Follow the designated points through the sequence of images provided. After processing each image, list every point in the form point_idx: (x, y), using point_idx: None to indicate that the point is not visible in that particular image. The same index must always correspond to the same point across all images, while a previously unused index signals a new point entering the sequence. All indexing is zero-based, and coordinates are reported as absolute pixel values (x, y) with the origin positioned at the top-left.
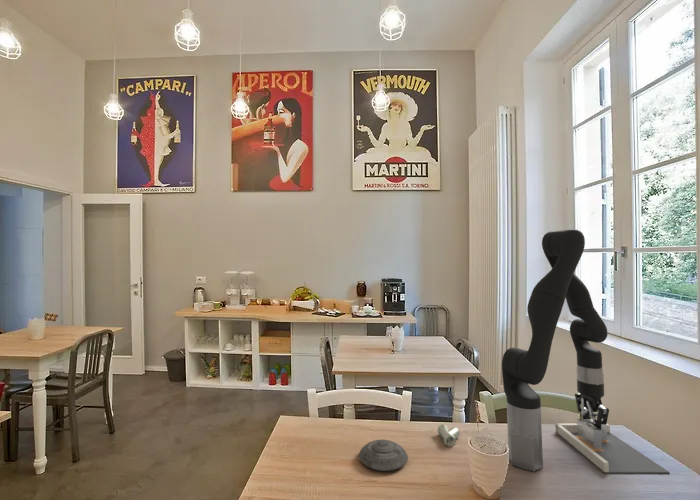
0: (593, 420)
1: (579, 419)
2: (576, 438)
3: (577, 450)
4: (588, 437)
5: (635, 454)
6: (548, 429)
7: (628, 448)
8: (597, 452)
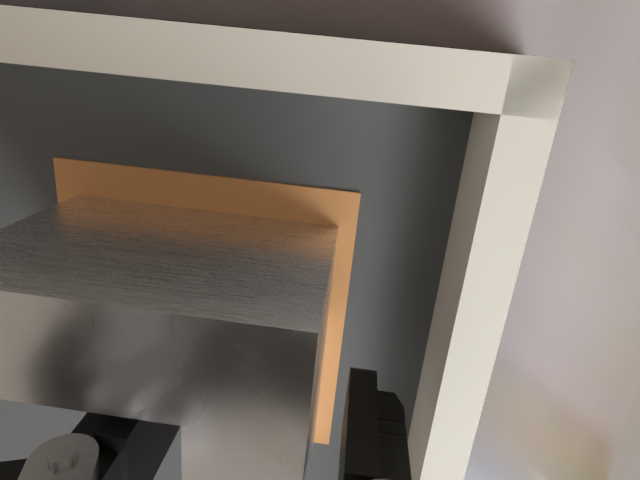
0: (64, 476)
1: (293, 354)
2: (80, 50)
3: None
4: (117, 232)
5: None
6: (626, 11)
7: None
8: (35, 189)
